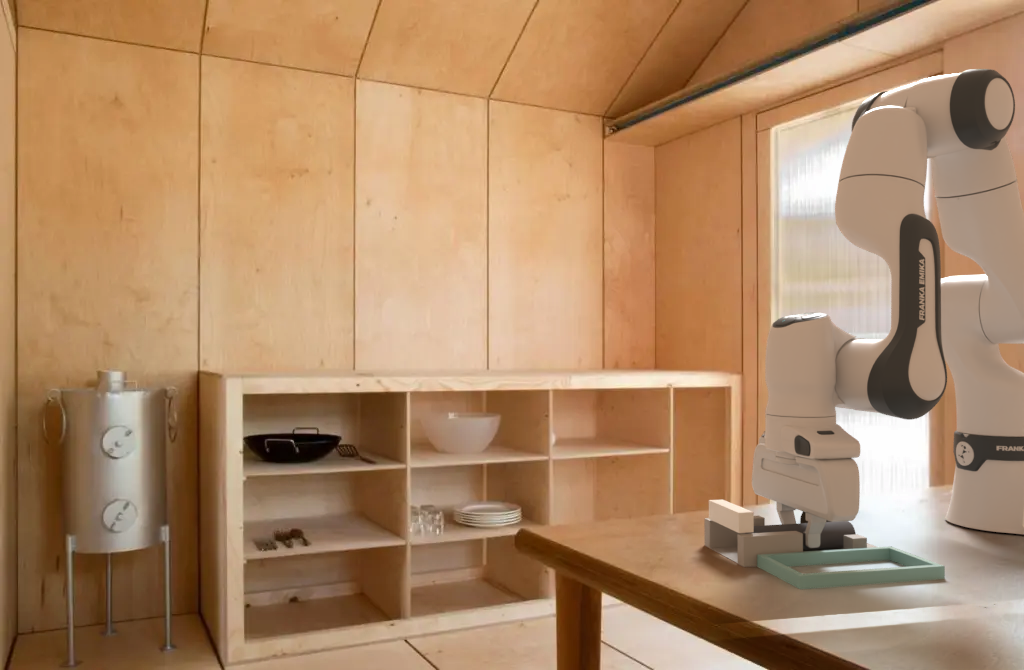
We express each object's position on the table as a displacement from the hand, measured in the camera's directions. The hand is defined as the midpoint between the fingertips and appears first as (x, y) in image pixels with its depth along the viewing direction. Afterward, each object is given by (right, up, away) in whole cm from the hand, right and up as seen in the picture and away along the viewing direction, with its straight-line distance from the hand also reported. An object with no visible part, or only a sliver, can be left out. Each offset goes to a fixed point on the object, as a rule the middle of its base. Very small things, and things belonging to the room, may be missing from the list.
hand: (800, 541), depth 112 cm
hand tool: (+12, -3, +22) cm, 25 cm away
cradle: (0, -2, 0) cm, 2 cm away
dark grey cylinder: (0, -1, 0) cm, 1 cm away
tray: (+2, -2, -10) cm, 11 cm away
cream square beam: (-10, +3, -2) cm, 10 cm away
